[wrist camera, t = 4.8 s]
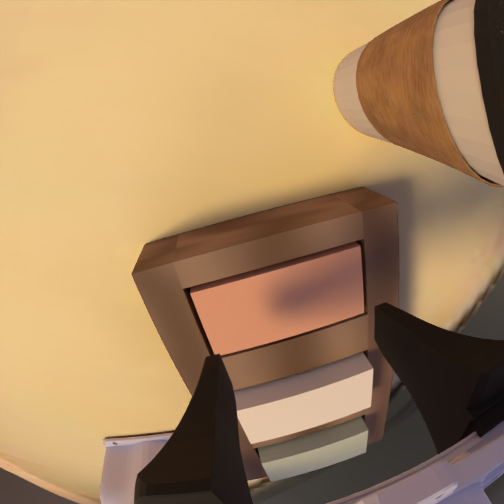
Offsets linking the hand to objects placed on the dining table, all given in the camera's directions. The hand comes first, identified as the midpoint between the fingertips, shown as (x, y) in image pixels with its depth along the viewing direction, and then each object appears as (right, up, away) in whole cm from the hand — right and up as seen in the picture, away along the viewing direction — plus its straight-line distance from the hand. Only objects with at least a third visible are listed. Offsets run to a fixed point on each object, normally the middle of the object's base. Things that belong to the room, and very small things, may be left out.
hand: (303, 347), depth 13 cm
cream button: (+1, -5, +9) cm, 10 cm away
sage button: (+3, -12, +12) cm, 17 cm away
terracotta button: (-1, +3, +7) cm, 7 cm away
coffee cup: (+5, +14, +3) cm, 16 cm away
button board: (+1, -4, +10) cm, 11 cm away
